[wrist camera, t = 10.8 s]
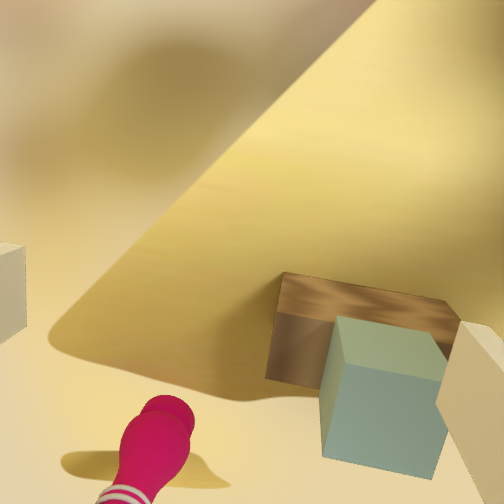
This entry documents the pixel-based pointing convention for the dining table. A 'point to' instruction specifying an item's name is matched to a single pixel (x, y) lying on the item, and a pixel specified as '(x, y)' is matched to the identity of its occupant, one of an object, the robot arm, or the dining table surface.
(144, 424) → the pepper mill
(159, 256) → the dining table surface
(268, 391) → the dining table surface
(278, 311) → the walnut box
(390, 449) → the letter cube
